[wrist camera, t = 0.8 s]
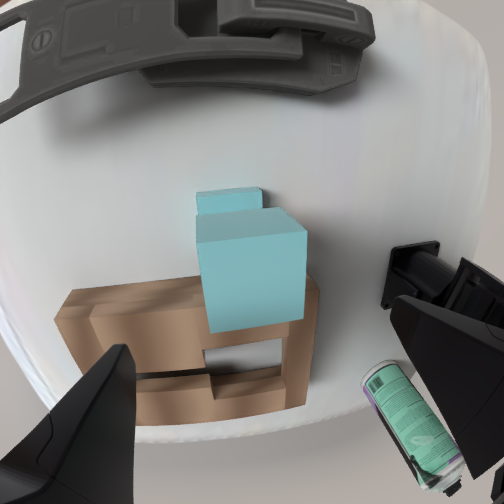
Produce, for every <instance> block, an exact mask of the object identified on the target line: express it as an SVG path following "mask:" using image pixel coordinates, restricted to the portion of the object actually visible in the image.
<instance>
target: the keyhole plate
mask: <svg viewBox="0 0 504 504" xmlns="http://www.w3.org/2000/svg"><path fill="white" fill-rule="evenodd" d="M318 300H319V288H318V287H317V285H316V284H315V283H314V281H313V280H312V279H311V277H310V276H309V275H308V274H307V272H306V283H305V301H304V316H303V319H299V320H293V321H288V322H283V323H277V324H271V325H265V326H259V327H253V328H246V329H240V330H233V331H226V332H218V333H211V334H210V328H209V323H208V317H207V311H206V305H205V299H204V293H203V286H202V280H201V276H193V277H184V278H176V279H168V280H159V281H150V282H142V283H133V284H124V285H115V286H105V287H96V288H86V289H76V290H72V291H71V293H70V294H69V296H68V297H67V299H66V300H65V302H64V304H63V305H62V307H61V308H60V310H59V312H58V313H57V315H56V317H55V318H54V321H55V323H56V325H57V327H58V329H59V331H60V333H61V335H62V337H63V339H64V341H65V343H66V345H67V347H68V349H69V351H70V353H71V355H72V356H73V358H74V360H75V362H76V364H77V365H78V367H79V369H80V370H81V372H82V374H83V375H84V374H85V373H86V372H87V371H88V370H89V369H90V368H91V367H92V366H93V365H94V364H95V363H96V362H97V361H98V360H99V359H100V358H101V357H102V356H103V354H104V353H105V352H106V351H107V350H108V349H109V348H110V347H111V346H112V345H113V344H120V343H125V344H127V346H128V348H129V350H130V352H131V354H132V357H133V359H134V361H135V364H136V373H146V372H162V371H175V370H186V369H195V368H204V367H206V364H205V353H204V349H212V348H219V347H227V346H234V345H241V344H247V343H253V342H259V341H265V340H271V339H276V338H282V365H281V366H276V367H271V368H266V369H260V370H254V371H248V372H242V373H236V374H229V375H222V376H214V377H210V375H209V374H201V375H192V376H181V377H169V378H154V379H136V402H137V410H136V425H135V426H159V425H181V424H194V423H205V422H214V421H222V420H230V419H237V418H243V417H249V416H255V415H261V414H266V413H271V412H276V411H281V410H285V409H289V408H294V407H298V406H302V405H305V402H306V396H307V390H308V383H309V377H310V370H311V362H312V355H313V347H314V339H315V330H316V321H317V311H318Z"/></svg>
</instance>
